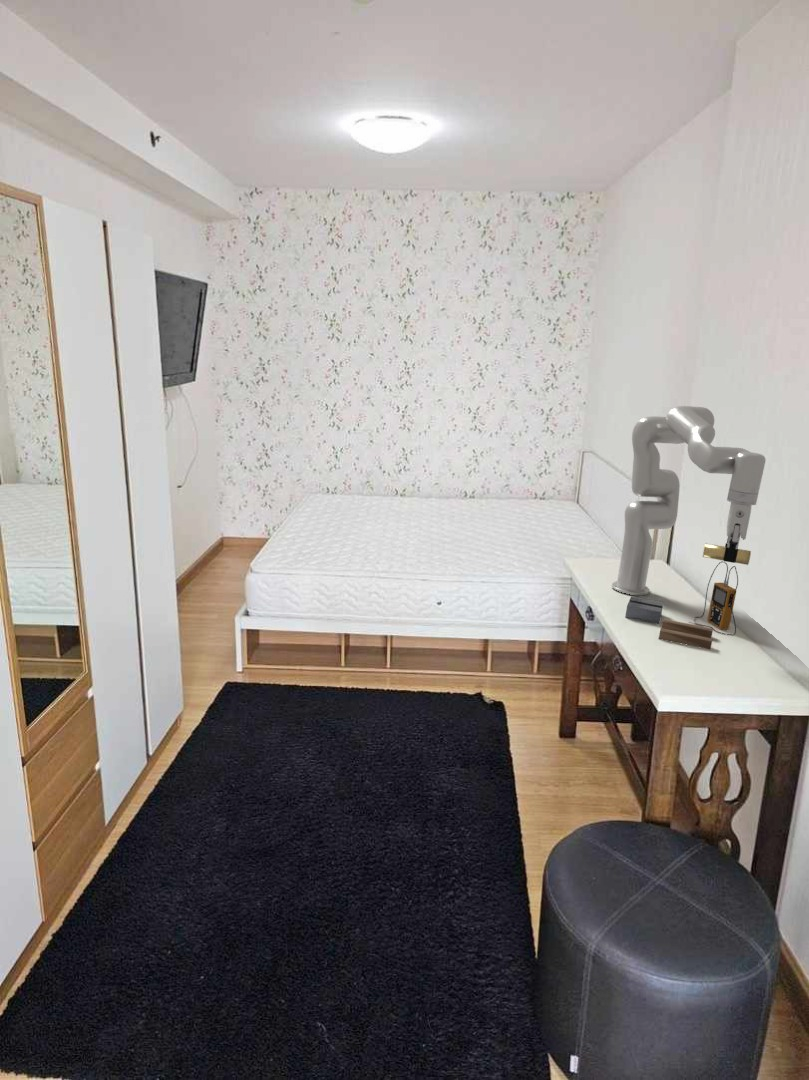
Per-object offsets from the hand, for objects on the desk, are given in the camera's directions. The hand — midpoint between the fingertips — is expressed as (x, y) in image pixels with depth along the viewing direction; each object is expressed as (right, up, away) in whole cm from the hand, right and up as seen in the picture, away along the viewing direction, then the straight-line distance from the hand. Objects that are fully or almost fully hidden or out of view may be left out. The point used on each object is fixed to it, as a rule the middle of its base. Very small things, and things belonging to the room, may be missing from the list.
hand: (729, 559), depth 206 cm
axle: (-1, +1, 0) cm, 2 cm away
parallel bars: (-10, -23, +6) cm, 26 cm away
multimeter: (+1, -21, +17) cm, 27 cm away
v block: (-17, -19, +21) cm, 33 cm away
